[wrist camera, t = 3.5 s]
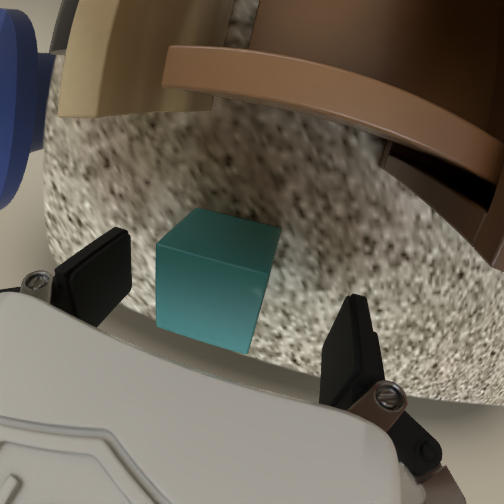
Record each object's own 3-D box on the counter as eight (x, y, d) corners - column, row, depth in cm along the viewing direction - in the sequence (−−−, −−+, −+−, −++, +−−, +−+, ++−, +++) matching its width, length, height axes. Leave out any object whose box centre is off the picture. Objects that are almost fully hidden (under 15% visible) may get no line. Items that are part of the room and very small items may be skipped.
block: (188, 278, 15) (155, 326, 11) (196, 206, 13) (155, 243, 9) (262, 298, 15) (247, 355, 11) (281, 227, 13) (270, 274, 9)
